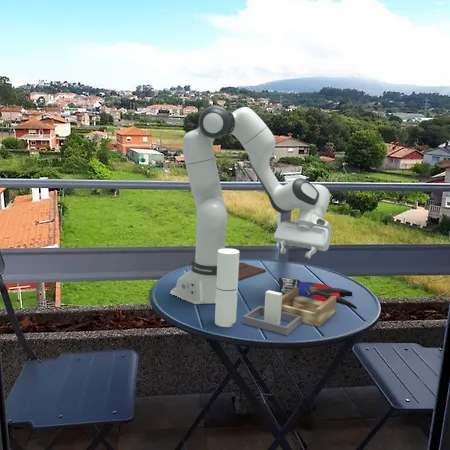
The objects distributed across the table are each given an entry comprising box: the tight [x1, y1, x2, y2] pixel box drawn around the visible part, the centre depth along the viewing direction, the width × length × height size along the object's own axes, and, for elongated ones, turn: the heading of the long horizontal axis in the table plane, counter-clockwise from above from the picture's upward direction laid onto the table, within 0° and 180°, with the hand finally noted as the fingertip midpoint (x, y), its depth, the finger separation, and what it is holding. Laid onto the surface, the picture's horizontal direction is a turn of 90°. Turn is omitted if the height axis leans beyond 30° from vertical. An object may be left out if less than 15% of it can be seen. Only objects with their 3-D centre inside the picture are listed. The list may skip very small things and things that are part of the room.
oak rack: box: [281, 287, 337, 328], centre depth 171 cm, size 16×16×7 cm
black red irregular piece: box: [278, 277, 358, 310], centre depth 192 cm, size 26×4×30 cm
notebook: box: [238, 262, 267, 282], centre depth 220 cm, size 15×20×2 cm
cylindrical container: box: [214, 247, 240, 328], centre depth 160 cm, size 7×7×25 cm
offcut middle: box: [293, 303, 316, 312], centre depth 172 cm, size 10×4×2 cm, turn 62°
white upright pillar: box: [263, 289, 282, 325], centre depth 161 cm, size 5×2×11 cm, turn 59°
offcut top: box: [294, 296, 325, 309], centre depth 172 cm, size 10×4×2 cm, turn 55°
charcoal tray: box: [242, 305, 302, 336], centre depth 161 cm, size 16×12×4 cm
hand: (294, 255), depth 169 cm, fingers open, 8 cm apart
